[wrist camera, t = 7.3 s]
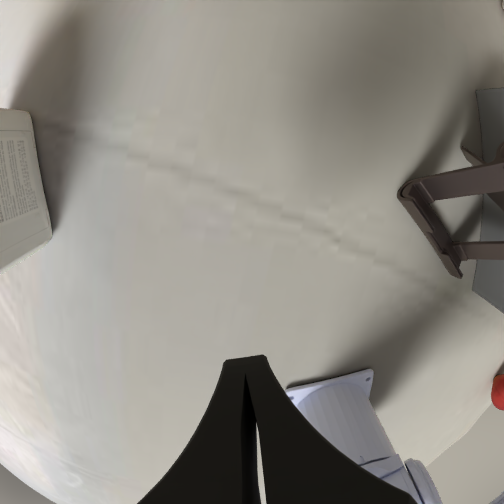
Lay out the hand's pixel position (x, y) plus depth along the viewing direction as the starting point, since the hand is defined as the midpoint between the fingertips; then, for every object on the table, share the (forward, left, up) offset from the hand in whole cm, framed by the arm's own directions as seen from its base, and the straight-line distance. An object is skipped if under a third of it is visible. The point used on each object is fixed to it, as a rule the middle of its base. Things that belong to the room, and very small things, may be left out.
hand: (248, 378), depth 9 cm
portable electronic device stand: (+3, -17, -10) cm, 19 cm away
